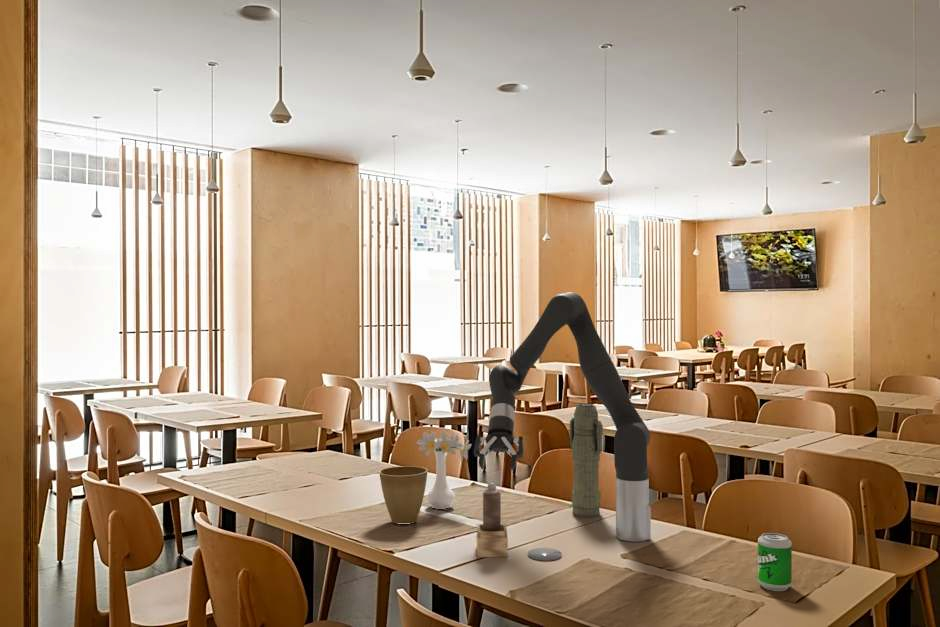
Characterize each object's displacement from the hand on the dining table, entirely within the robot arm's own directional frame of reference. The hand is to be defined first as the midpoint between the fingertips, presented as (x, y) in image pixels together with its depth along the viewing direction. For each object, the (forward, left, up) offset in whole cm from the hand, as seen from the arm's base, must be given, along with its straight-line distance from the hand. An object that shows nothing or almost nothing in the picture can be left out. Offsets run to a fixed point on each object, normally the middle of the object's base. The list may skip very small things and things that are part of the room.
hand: (496, 468), depth 225 cm
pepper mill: (+2, +11, -15) cm, 19 cm away
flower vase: (+16, -36, -21) cm, 44 cm away
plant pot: (+28, -19, -21) cm, 40 cm away
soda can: (-64, +39, -21) cm, 78 cm away
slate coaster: (-12, +14, -20) cm, 28 cm away
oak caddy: (+2, +11, -20) cm, 23 cm away
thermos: (-30, -27, -21) cm, 45 cm away
